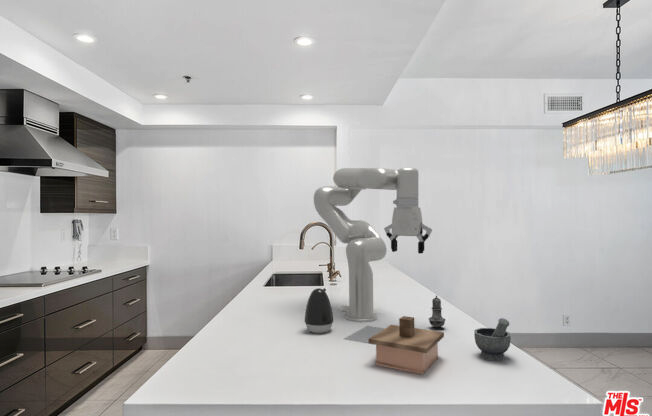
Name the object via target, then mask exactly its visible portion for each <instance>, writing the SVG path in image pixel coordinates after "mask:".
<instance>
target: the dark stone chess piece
mask: <svg viewBox="0 0 652 416" xmlns="http://www.w3.org/2000/svg"><path fill="white" fill-rule="evenodd" d="M442 309H443V308H442V301H441V298H439V297H438V295H435V297H434V298H432V307H431V310H432V314H431V315H432V316H431V317H428V322H429V324H430V325H431V327H430V330H432V331H443V330H445V328H444V327H443V326H444V325H445V323H446V318H444V317H443V315H442Z"/></svg>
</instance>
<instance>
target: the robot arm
mask: <svg viewBox="0 0 652 416" xmlns="http://www.w3.org/2000/svg"><path fill="white" fill-rule="evenodd" d="M419 178H420V175H419V170H418V169H417V168H414V167H402V168H399V169H395V168H394V169H393V168H384V167H383V168H382V167H381V168H380V167H374V168H373V167H344V168H343V167H342V168H340V169H337V170H336V171H335V172H334V174H333V177H332V179H333V183H334V184H335V186H333V185H331V186H330V185H325V186H321V187H318V188H317V189H316V190H315V191H314V193H313V204H314V209H315V210H316V213H317V214H318V215H319V216H320V218H321V220H323V221H324V222H325V223H326V224H327V226H328V227H329V228H330V230H331V231H332V232H333V234H334V235H335V236H336V238H337V239H338V240H339V241H340V242H341V243H343V244H346V247H345V255H346V260H347V267H348V303H349V304H348V305H342V306H341V312H346V314H345V319H346V321H350V322H353V323H370V322H375V321H377V320H378V317H379V316H378V315H377V314H376V313H375V312H374V275H373V274H374V273H373V269H372V266H371V264H370V263H369V262H377V261H378V262H379V261H381V260H382V259H384V258H385V257H386V255H387V253H388V252H387V245H386V243H385V241H384V240H383V238H382V237H381V235H379V234H378V232H377V231H376V229H374V228H373V226H372V225H371V224H370V223H368V222H367V221H365V220H361V219H360V220H354V219H353V220H352V219H350V218H349V217H348V216H347V215H346V214H345V212H344V211H343V210H341V209H340V208H338V206H339V207H344V206H348V205H350V204H351V203H352V201H354V200H355V198H356V197H357V196H358V195H359V194H360V192H361V191H362V190H363V191H365V190H367V189H368V190H369V189H370V190H385V191H386V190H387V191H388V190H389V191H396V198H395V199H393V200H392V204H393V205H395V207H394V208H393V212H392V217H391V218H392V219H391V224H389V225H387V226H385V227H384V228H383V229H384V231H385V234H386V236H387V237H388V239H389V240H390V249H391V252H393V253H394V252H397V251H398V237H400V236H401V237H416V238H417V240H419V241H418V242H417V253H418V254H421V255H422V254H423V253H424V251H425V242H426V241H427V239H429V237H430V236H431V234H432V232H433V229H432V228H431V227H429V226H427V225H425V224H423V217H422V210H421V207H420V206H419ZM424 230H425V232H426V233H425V234H424V235H423V231H424Z"/></svg>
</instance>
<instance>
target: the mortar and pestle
mask: <svg viewBox="0 0 652 416" xmlns="http://www.w3.org/2000/svg"><path fill="white" fill-rule="evenodd" d="M509 326H510V321H509V320H508V319H506V318H504V317H502V318H501V317H500V318H499V319H498V323H497V325H496V327H495V328H493V327H480V328H476V329H474V330H473V331H474V343H475V345H476V346H477V348H478V350H480V352H481V353H480V356H481V359H484V360H488V361H493V362H496V361H497V362H501V361H503V359H504V360H505V356H504V353H506V352H507V351H508V350H509V348H510V346H511V341H512V340H511V333H510V332H509V331H507V330H508V329H507V328H508V327H509Z"/></svg>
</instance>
